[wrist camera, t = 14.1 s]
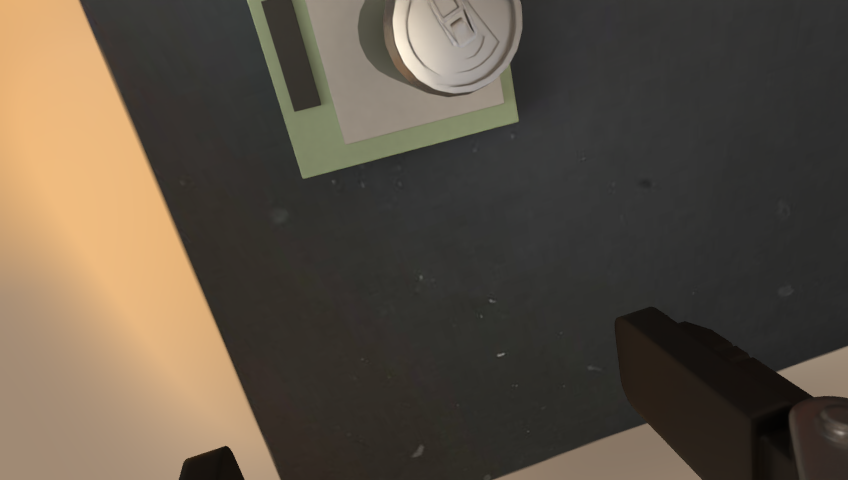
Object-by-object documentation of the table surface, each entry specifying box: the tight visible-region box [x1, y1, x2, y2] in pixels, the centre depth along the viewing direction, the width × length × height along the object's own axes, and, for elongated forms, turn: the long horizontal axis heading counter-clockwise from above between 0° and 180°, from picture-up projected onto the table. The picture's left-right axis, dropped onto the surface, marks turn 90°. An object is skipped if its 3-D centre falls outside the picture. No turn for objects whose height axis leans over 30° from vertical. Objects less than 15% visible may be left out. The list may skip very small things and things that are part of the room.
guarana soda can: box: [358, 0, 522, 97], centre depth 26 cm, size 5×5×12 cm
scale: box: [247, 0, 519, 179], centre depth 33 cm, size 14×14×4 cm
